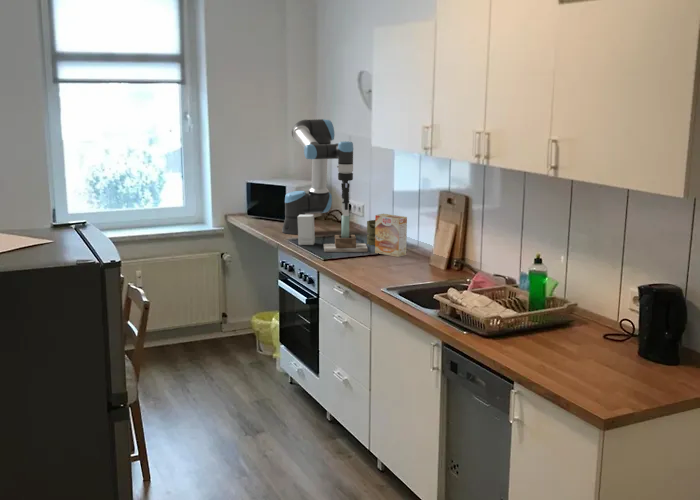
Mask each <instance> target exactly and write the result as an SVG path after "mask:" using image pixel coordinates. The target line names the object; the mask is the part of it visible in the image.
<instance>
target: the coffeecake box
mask: <svg viewBox="0 0 700 500" xmlns="http://www.w3.org/2000/svg"><path fill="white" fill-rule="evenodd" d="M374 220H375V246H374V254H378V253H379V254H380V255H385V256H390V257H396V258H397V257H398V258H400V257H403V256H407V236H408V235H407V232H408V229H407V227H408V216H403V215H395V214H390V213H389V214H388V213H380V214H376V215H375V219H374Z"/></svg>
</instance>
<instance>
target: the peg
mask: <svg viewBox="0 0 700 500" xmlns="http://www.w3.org/2000/svg"><path fill="white" fill-rule="evenodd" d="M340 235H341V238H349V235H350V215H349V216H343V214H342V215H341V234H340Z"/></svg>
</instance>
